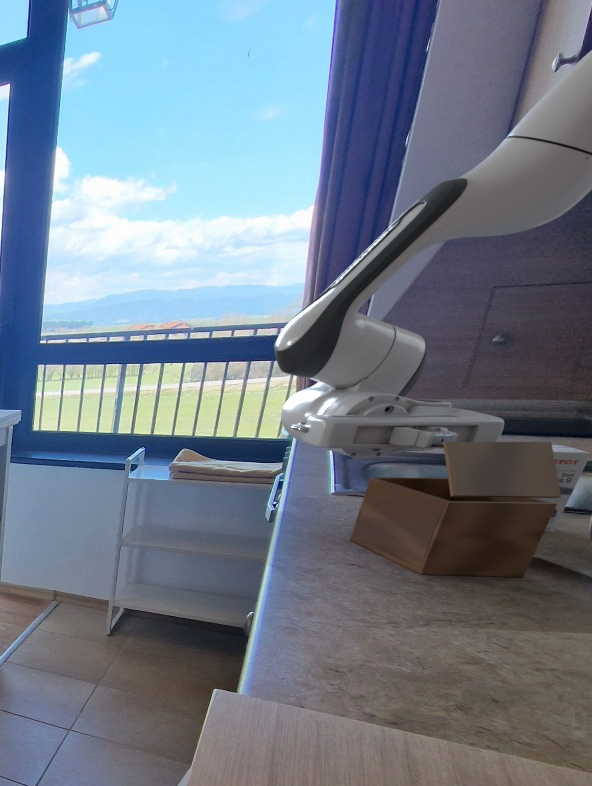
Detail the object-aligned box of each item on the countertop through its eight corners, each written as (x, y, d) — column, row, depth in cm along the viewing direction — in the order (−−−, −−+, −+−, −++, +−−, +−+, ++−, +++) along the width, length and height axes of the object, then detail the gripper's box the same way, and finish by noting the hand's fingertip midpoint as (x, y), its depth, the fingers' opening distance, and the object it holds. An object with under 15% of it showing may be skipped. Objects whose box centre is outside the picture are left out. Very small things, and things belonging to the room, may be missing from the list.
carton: (435, 542, 82) (460, 477, 79) (523, 577, 70) (557, 503, 67) (348, 540, 84) (370, 477, 80) (420, 574, 72) (449, 502, 69)
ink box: (463, 538, 83) (500, 448, 79) (444, 527, 87) (478, 442, 83) (550, 543, 80) (594, 451, 76) (526, 532, 84) (566, 444, 80)
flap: (547, 443, 68) (551, 441, 68) (557, 498, 67) (561, 496, 66) (442, 443, 70) (445, 441, 69) (450, 496, 68) (453, 495, 68)
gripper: (290, 403, 89) (353, 414, 76) (458, 401, 85) (552, 413, 73) (278, 448, 91) (337, 466, 79) (440, 447, 88) (529, 467, 75)
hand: (442, 440), depth 76 cm, fingers closed
